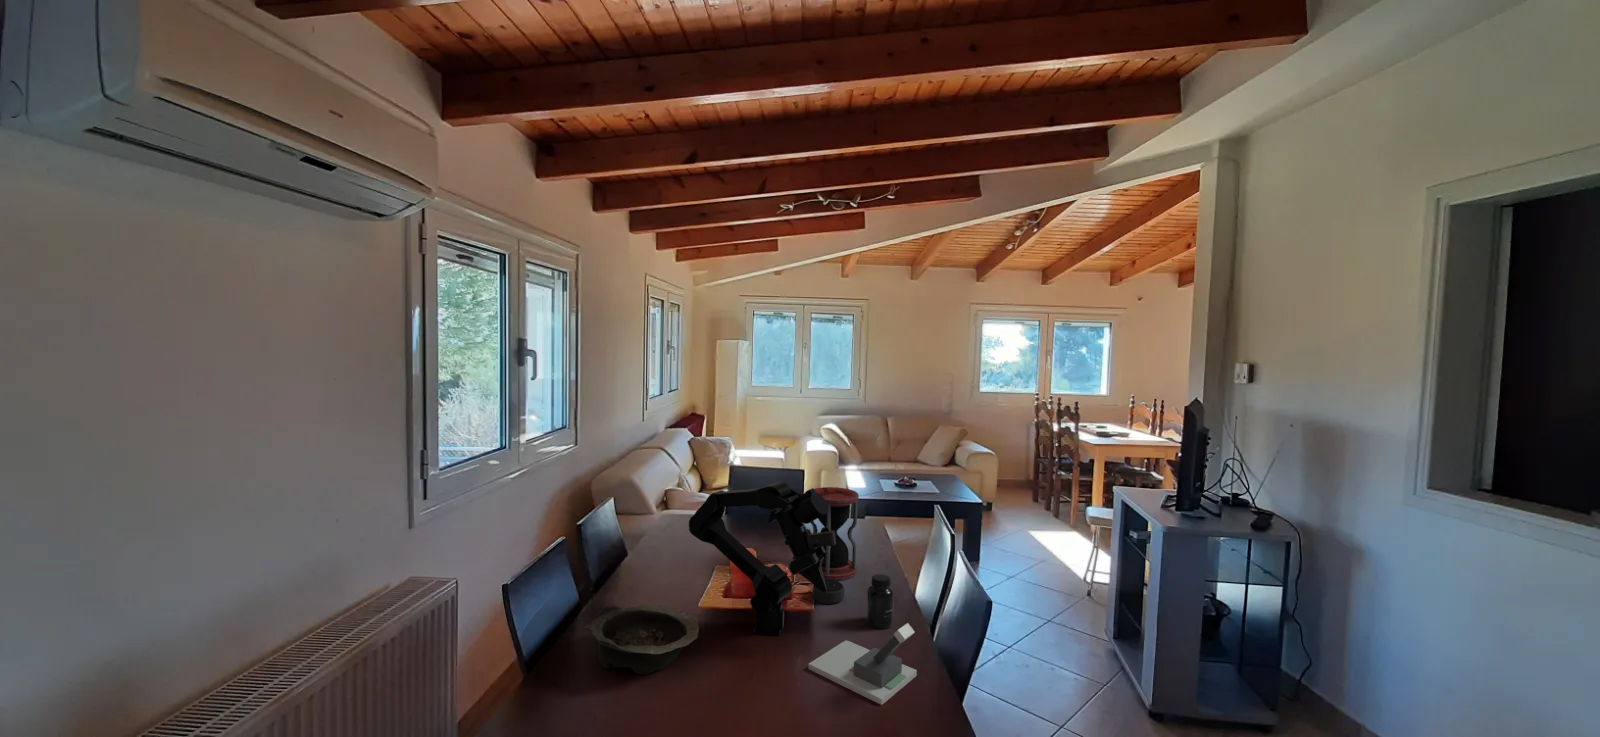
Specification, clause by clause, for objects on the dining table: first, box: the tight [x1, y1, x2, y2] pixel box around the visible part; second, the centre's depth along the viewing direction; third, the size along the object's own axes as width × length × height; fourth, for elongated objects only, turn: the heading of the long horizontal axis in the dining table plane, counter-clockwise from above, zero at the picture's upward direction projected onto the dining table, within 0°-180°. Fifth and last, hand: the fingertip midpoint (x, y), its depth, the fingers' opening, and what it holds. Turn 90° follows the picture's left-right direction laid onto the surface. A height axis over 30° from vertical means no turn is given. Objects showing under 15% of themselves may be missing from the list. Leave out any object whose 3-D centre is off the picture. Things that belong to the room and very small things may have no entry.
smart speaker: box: [812, 580, 845, 605], centre depth 164 cm, size 9×9×4 cm
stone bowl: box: [583, 604, 700, 675], centre depth 132 cm, size 25×25×9 cm
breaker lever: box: [873, 622, 915, 664], centre depth 122 cm, size 2×4×10 cm
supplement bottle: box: [866, 573, 895, 630], centre depth 150 cm, size 7×7×12 cm
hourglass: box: [809, 486, 860, 582], centre depth 184 cm, size 16×16×25 cm
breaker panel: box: [808, 640, 918, 706], centre depth 127 cm, size 19×14×4 cm
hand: (824, 591), depth 138 cm, fingers closed
